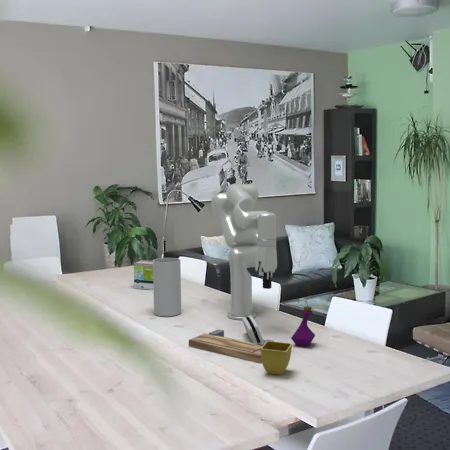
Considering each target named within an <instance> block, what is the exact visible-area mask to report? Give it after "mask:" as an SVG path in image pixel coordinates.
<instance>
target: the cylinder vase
mask: <svg viewBox="0 0 450 450" xmlns="http://www.w3.org/2000/svg"><path fill="white" fill-rule="evenodd" d="M152 261H153V287H154V290H153V313H154V315H156V316H158V317H162V316H163V317H165V318H166V317H167V318H168V317H169V318H170V317H176V316H179V315H180V314H181V313H182V283H181V282H182V281H181V280H182V276H181V274H182V273H181V271H182V270H181V259H180V258H177V257H159V258H155V259H152Z"/></svg>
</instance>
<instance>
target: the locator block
mask: <svg viewBox="0 0 450 450" xmlns="http://www.w3.org/2000/svg"><path fill="white" fill-rule="evenodd" d="M208 334H210V335H215V336H221V337H225V330H224V329H215V330H213V331H210V332H209V333H208Z"/></svg>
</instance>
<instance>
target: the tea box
mask: <svg viewBox="0 0 450 450" xmlns="http://www.w3.org/2000/svg"><path fill="white" fill-rule="evenodd" d="M133 286H134V287H133V288H134V289H135V290H137V289H141V290H152V291H154V287H153V260H146V259H141V260H139V261H136V262H134V263H133Z"/></svg>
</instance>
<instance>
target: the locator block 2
mask: <svg viewBox="0 0 450 450" xmlns="http://www.w3.org/2000/svg"><path fill="white" fill-rule="evenodd" d="M267 341H273V342H275V340H273V339H265V341H263V342H261V343H259V342H258V345H262V346H263V345H264V344H265V343H266V342H267Z"/></svg>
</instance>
